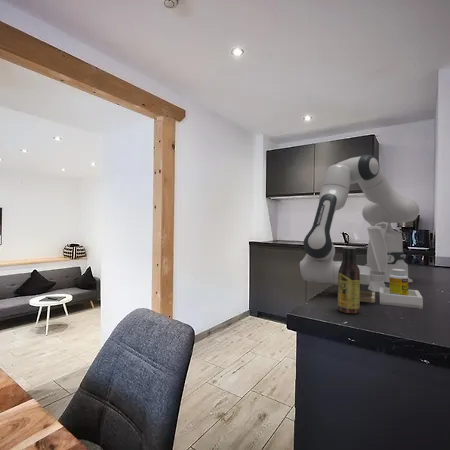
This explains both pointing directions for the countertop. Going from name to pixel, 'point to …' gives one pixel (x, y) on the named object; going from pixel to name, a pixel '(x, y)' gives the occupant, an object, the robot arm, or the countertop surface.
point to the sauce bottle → (349, 282)
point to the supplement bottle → (398, 282)
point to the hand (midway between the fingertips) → (385, 276)
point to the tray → (401, 298)
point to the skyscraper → (377, 254)
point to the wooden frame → (367, 299)
